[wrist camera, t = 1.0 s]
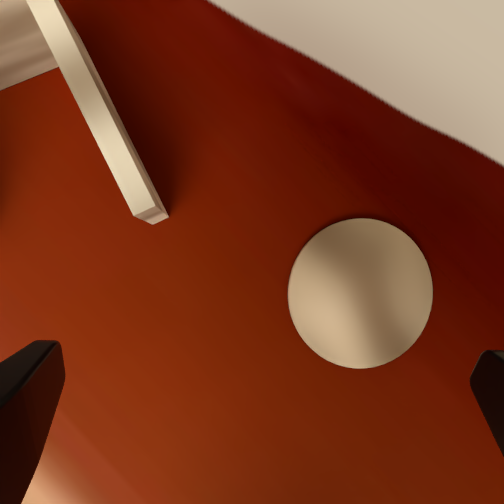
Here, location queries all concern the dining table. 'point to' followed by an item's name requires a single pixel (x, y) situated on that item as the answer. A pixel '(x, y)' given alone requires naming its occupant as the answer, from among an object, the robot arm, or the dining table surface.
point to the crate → (74, 90)
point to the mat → (360, 293)
